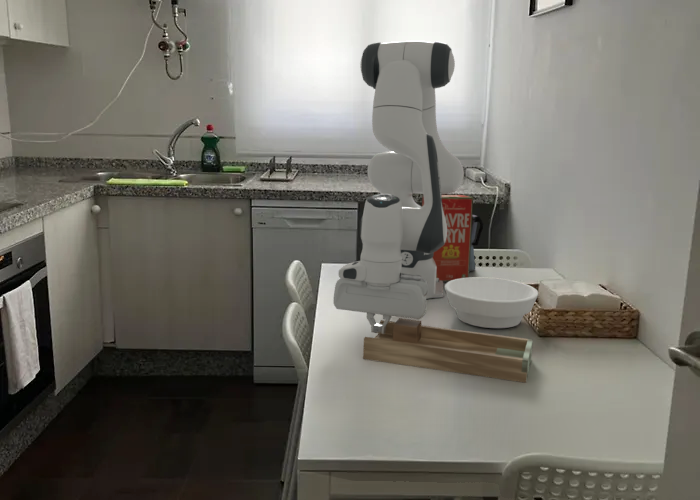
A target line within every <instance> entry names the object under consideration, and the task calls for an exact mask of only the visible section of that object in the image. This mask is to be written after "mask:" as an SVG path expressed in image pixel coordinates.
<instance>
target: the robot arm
mask: <svg viewBox="0 0 700 500" xmlns="http://www.w3.org/2000/svg"><path fill="white" fill-rule="evenodd" d="M455 62H456V61H455V56H454V54H453V50H452V48H451V47H450V45H449V44H448V43H445V42H441V41H434V42H431V41H425V40H406V41H401V40H400V41H391V42H389V41H388V42H383V43H382V42H381V41H379V42H374V43H371V44H368V45H367V46H366V47H365V49H364V50H363V52H362V56H361V59H360V63H359V64H360V73H361V76H362V80H363V81H364V83H365V84H366V85H367V86H369V87H371V88H373V90H375V91H374V94H373V95H374V96H373V104H372V112H371V113H372V115H371V118H372V119H371V123H372V125H371V126H372V132H373V135H374V137H375V139H376V140H377V141H378V143H379V144H381V145H382V146H383V147H385V148H386V149H387V150H390V151H383V152H378V153H375V154H374V155H373V157H371V159H370V160H369V162H368V166H367V177H368V181H369V183H370V184H371V186H372V187H373V188H374V189H375V190H376V191H377V192H379V194H374V195H370V196H368V197H367V198H366V200H365V203H364V206H363V207H364V208H363V214H362V216H361V217H360V218H361V219H360V228H359V229H360V230H359V235H360V239H361V243H362V250H361V253H360V260H358V261H352V262H349V263H347V264H345V265H343V266H342V267H340V269H339V270H338V278H339V279H338V280H337V281H336V283H335V285H334V286H335V287H334V292H333V305H334V307H335V308H336V309H337V310H342V311H343V310H344V311H348V312H349V311H352V312H358V313H366V319H367V321H368V322H369V325H370V332H371V333H373V334H378V333H379V334H385V333H386V325H387V324H388V322H389V321H391V319H392V317H398V318H404V319H412V320H420V319H422V318H424V316H425V315H426V314H427V299H432V298H435V299H436V298H443V297H444V281H441V280H439V278H436V270H437V266H436V263H435V261H434V259H433V256H434V252H435V251H437V250H438V249H440V248H441V247H442V246H443V245H444V244H445V241H446V238H447V223H446V219H445V215H444V212H443V205H442V196H441V195H448V194H453V193H455V192H456V191H457V190H458V189H459V188H460V187H461V186H462V183H463V181H464V175H465V174H464V167H463V164H462V163H461V160H460V159H459V158H458V157H457V156H456V155H454V154H453V153H452V152H450V151H449V149H448V148H447V147H446V146H445V145H444V143H443V142H442V139H441V138H440V135H439V133H438V128H437V112H436V111H437V110H436V109H437V107H436V105H437V104H436V89H440V88H442V87H445V86H446V85H448V84H449V83H450V82H451V79H452V77H453V74H454V71H455V67H456V66H455ZM413 194H421V195H422V196H424V205H423V206H422V205H420V204H419V203H417V202H416V201H415V199H414V197H413ZM376 315H382V320H384V323H383V324H380V323H378V322H377V321H376V319H375V316H376Z"/></svg>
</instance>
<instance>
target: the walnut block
mask: <svg viewBox="0 0 700 500" xmlns="http://www.w3.org/2000/svg"><path fill="white" fill-rule="evenodd" d="M394 322H395V324H394V325H393V341H400V342H407V343H415V344H417V343H418V342H419V340H420V339H421V325H422V320H420V319H412V318H404V317H398V319H397V320H396V321H394Z"/></svg>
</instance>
